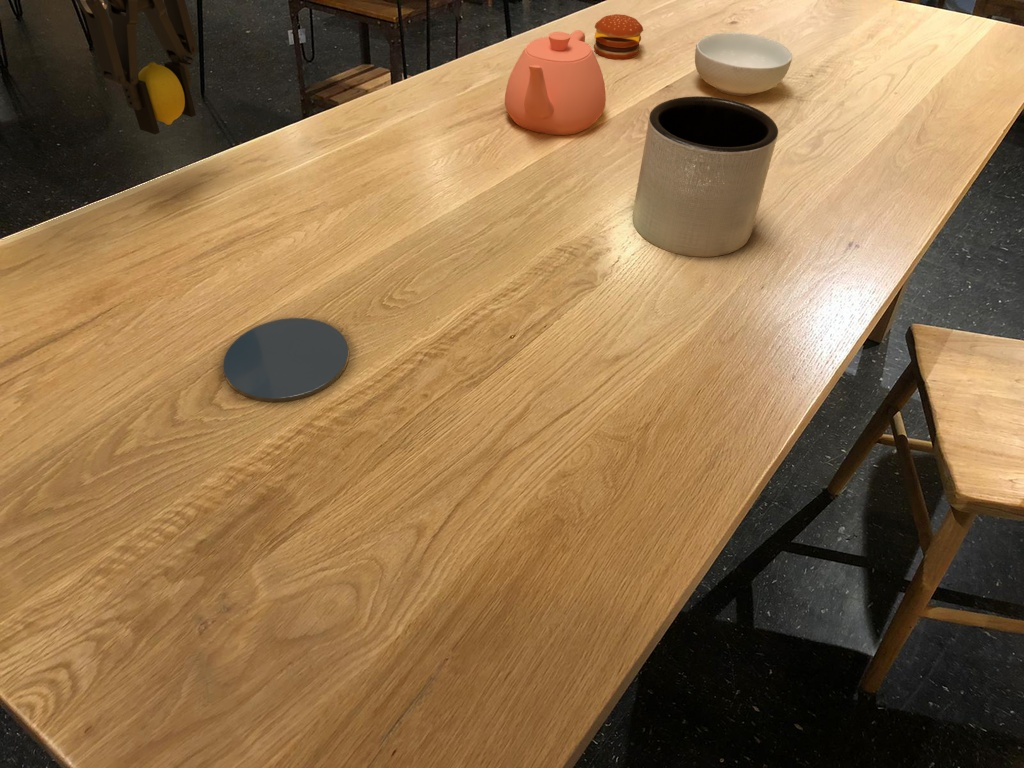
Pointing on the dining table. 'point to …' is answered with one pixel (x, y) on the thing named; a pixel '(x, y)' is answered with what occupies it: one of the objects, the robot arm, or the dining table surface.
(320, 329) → the plate
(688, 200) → the planter
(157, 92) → the lemon
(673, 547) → the dining table surface
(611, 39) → the hamburger
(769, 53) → the cereal bowl
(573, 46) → the teapot
